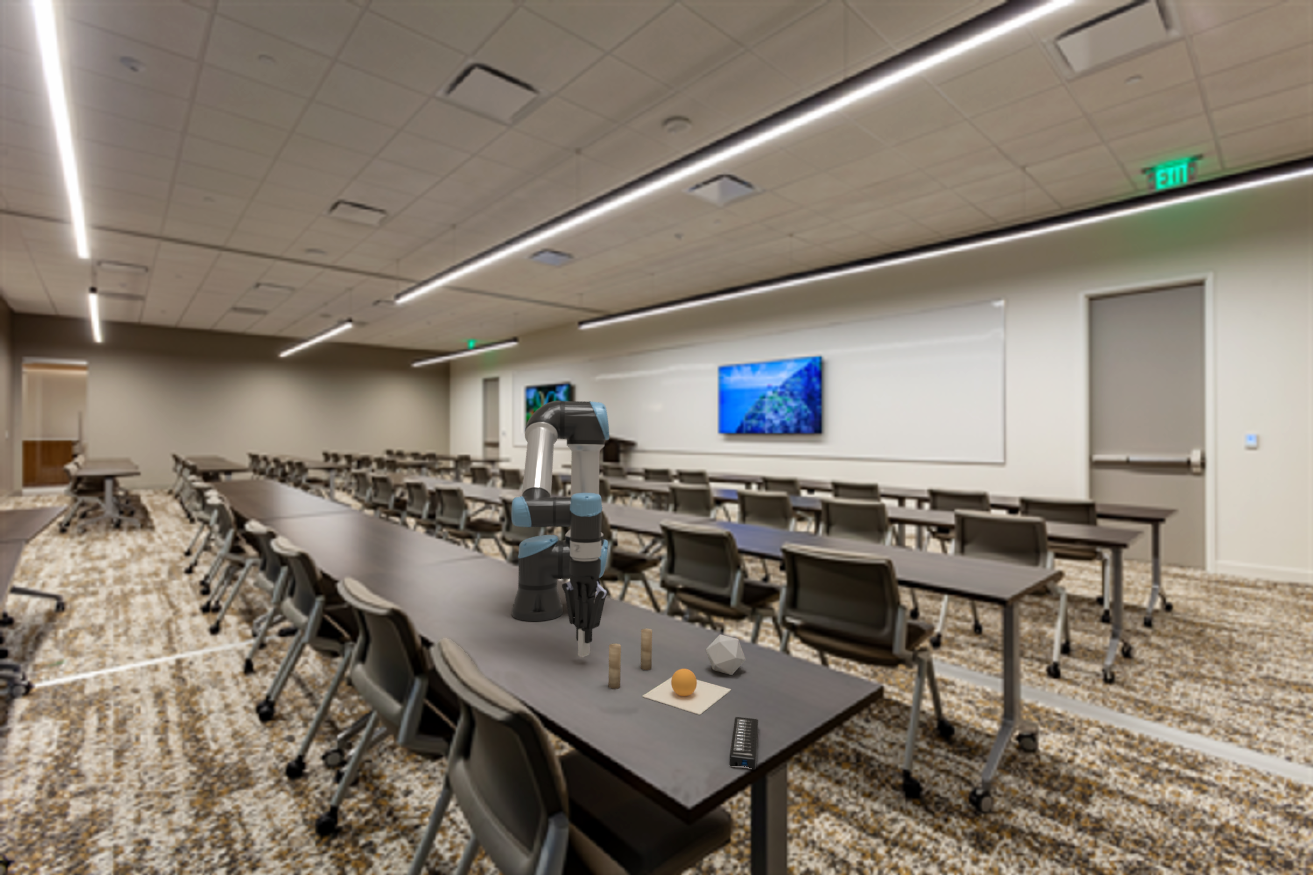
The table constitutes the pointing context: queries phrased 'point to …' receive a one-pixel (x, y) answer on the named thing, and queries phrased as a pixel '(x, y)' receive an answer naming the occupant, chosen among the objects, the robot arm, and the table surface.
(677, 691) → the ball
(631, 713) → the table surface
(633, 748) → the table surface
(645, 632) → the right post
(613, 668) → the left post
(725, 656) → the die
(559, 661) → the table surface
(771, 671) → the table surface
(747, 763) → the multiport hub
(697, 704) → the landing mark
